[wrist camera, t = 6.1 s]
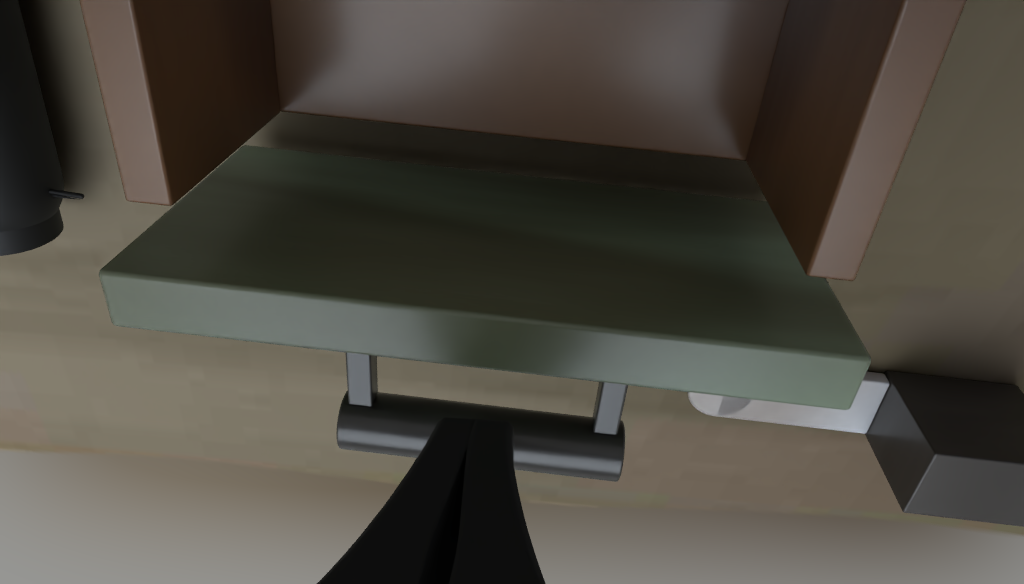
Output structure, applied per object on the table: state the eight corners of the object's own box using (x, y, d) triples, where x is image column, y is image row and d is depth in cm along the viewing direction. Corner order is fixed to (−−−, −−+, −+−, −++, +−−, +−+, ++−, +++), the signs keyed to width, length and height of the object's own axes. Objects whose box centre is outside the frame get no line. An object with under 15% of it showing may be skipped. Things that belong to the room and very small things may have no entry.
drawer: (719, 405, 21) (767, 597, 15) (270, 352, 21) (164, 523, 16) (1018, -543, 11) (1462, -947, 5) (144, -613, 11) (-271, -1053, 6)
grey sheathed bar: (1017, 385, 20) (1089, 471, 18) (984, 440, 22) (1046, 530, 19) (694, 348, 21) (712, 427, 18) (679, 404, 22) (693, 488, 19)
